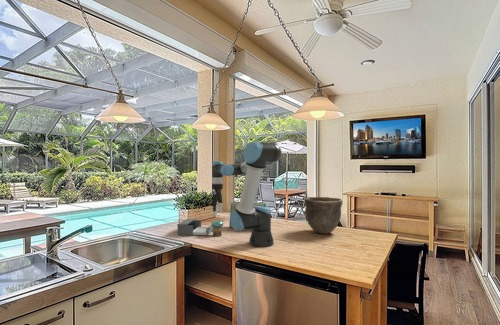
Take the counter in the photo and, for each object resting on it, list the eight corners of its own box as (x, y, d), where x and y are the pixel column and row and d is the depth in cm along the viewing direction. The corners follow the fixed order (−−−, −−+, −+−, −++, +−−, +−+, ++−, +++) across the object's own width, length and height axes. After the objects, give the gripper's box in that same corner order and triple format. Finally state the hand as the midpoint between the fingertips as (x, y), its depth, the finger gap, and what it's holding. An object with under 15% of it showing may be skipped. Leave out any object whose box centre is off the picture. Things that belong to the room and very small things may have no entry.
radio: (229, 228, 211) (229, 196, 211) (232, 226, 218) (232, 194, 218) (266, 231, 202) (266, 197, 202) (268, 228, 210) (268, 196, 210)
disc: (221, 226, 185) (221, 223, 185) (210, 226, 186) (210, 222, 186) (224, 224, 193) (224, 220, 193) (213, 223, 194) (213, 220, 194)
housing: (195, 236, 188) (195, 224, 188) (177, 235, 190) (177, 224, 190) (203, 229, 207) (203, 219, 207) (187, 228, 209) (187, 218, 209)
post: (220, 236, 186) (220, 226, 186) (212, 236, 187) (212, 226, 187) (222, 234, 192) (222, 224, 192) (214, 234, 193) (214, 224, 193)
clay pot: (309, 237, 184) (309, 200, 184) (301, 228, 210) (301, 196, 210) (348, 237, 185) (348, 200, 185) (335, 228, 210) (335, 196, 210)
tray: (207, 235, 188) (207, 228, 188) (190, 234, 190) (190, 228, 190) (213, 229, 205) (213, 223, 205) (198, 228, 207) (198, 222, 207)
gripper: (218, 185, 177) (218, 217, 177) (226, 182, 202) (226, 210, 202) (207, 184, 178) (206, 217, 178) (216, 181, 203) (216, 210, 203)
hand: (217, 214), depth 190 cm, fingers open, 13 cm apart
